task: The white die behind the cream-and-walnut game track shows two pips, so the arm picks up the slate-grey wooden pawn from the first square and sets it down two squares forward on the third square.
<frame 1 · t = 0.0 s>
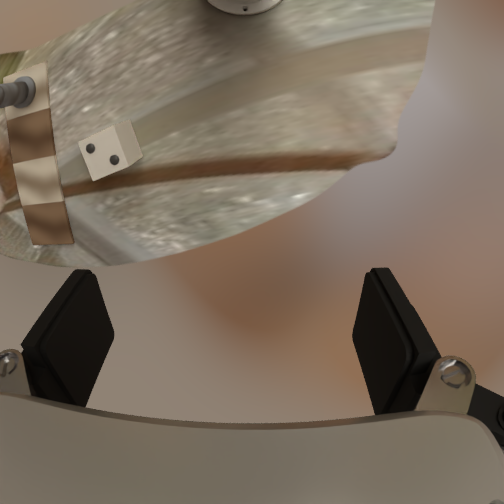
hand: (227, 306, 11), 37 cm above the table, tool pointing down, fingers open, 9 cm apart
die: (119, 145, 43), on the table
pawn: (24, 91, 37), point 1 cm above the table, touching game board
game board: (34, 158, 43), on the table
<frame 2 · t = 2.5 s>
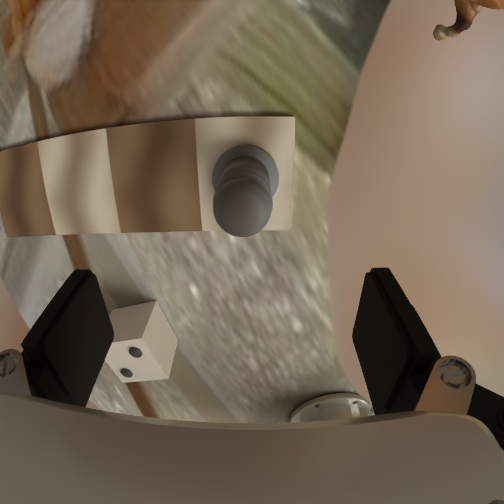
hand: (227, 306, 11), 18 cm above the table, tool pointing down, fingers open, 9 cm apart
die: (145, 325, 35), on the table
pawn: (245, 175, 26), point 1 cm above the table, touching game board
game board: (115, 180, 27), on the table
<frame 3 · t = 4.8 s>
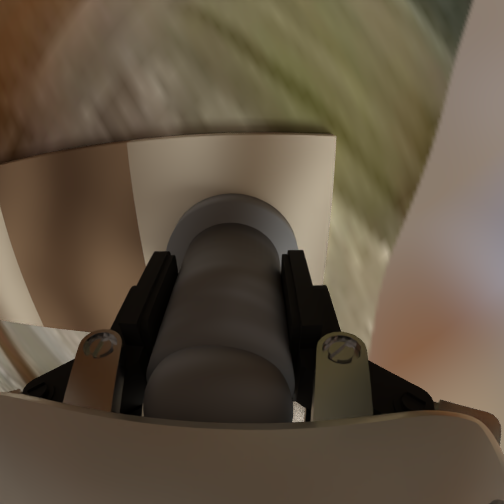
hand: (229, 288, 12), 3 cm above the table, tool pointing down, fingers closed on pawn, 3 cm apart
pawn: (233, 254, 14), point 1 cm above the table, touching game board, gripper
game board: (20, 250, 14), on the table
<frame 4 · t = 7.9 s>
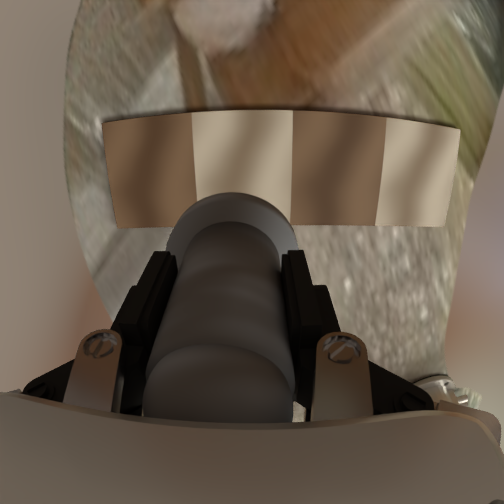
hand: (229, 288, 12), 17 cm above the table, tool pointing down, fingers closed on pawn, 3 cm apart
pawn: (233, 253, 14), point 15 cm above the table, touching gripper
game board: (290, 168, 26), on the table
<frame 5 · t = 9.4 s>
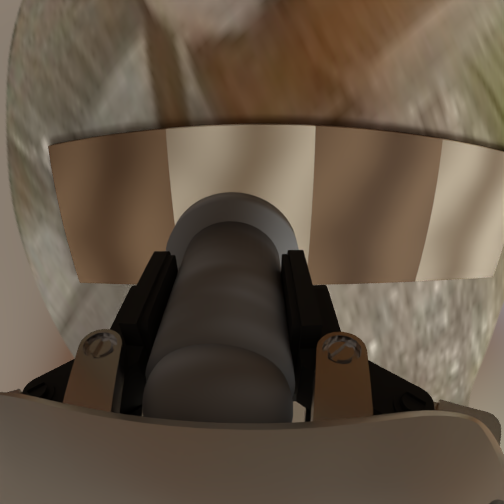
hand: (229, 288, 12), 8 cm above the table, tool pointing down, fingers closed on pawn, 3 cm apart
pawn: (233, 253, 14), point 6 cm above the table, touching gripper
game board: (310, 208, 19), on the table
when the fingers open (4 cm above the table, at t = 10.9 s): pawn stays where it is, resting on game board.
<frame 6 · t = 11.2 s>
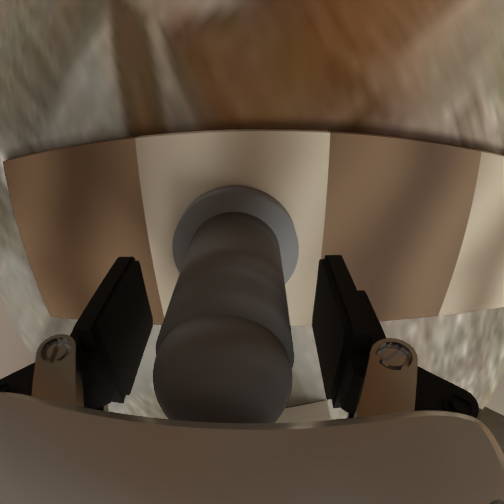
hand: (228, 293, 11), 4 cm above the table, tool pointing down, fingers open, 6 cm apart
die: (294, 425, 23), on the table
pawn: (236, 242, 15), point 1 cm above the table, touching game board
game board: (320, 236, 15), on the table
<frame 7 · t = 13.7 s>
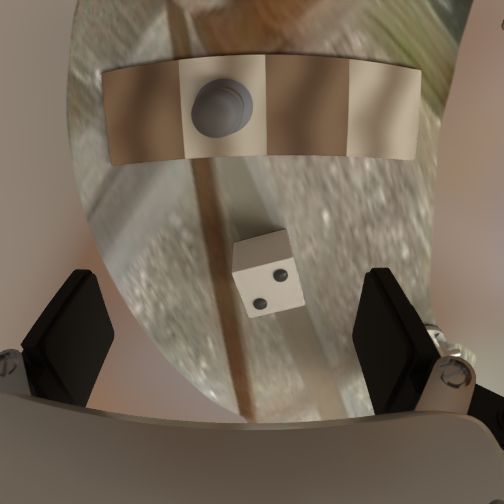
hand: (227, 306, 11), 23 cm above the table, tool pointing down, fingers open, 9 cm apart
die: (267, 258, 37), on the table
pawn: (224, 106, 28), point 1 cm above the table, touching game board
game board: (265, 104, 28), on the table
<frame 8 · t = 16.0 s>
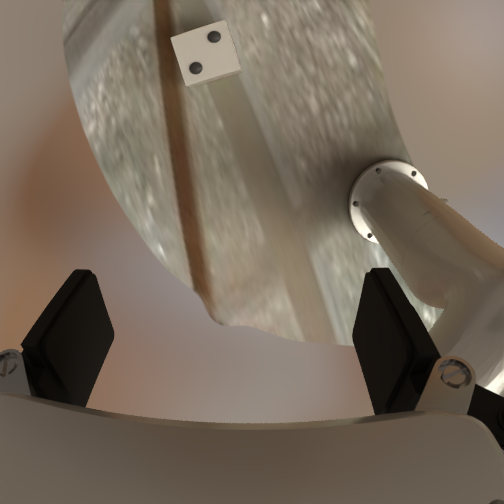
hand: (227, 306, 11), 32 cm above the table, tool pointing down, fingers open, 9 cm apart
die: (212, 57, 34), on the table
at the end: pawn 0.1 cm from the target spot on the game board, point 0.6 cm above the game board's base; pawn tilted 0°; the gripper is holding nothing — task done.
